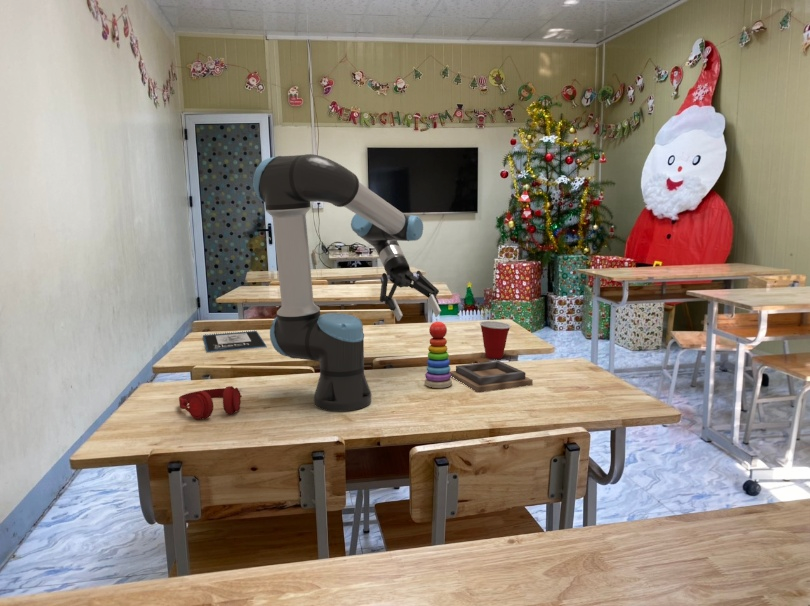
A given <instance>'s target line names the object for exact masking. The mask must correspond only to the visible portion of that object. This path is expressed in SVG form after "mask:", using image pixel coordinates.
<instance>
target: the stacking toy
mask: <svg viewBox="0 0 810 606" xmlns="http://www.w3.org/2000/svg"><path fill="white" fill-rule="evenodd" d="M447 332H448V329H447V326H446V324H445V323H444V322H442V321H434V322H433V323H431V324H430V326H429V335H430V337H431V338H430V339H429V344H430V345H429V346H428V348H427V349H428V353H427V357H428V359H427V360H426V361H427V362H426V363H427V366H426V372H425V374H424V377H425V380H424V384H425V386H427V387H429V388H431V387H432V388H433V389H445V388H448V387H450V386H451V385H453V379H451V374H450V371H451V366H450V363H451V362H450V359H449V352H447V351H448V346H447V343H448V340H447V339H446V338H445V337H446V335H447ZM432 388H431V389H432Z"/></svg>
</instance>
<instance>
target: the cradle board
mask: <svg viewBox="0 0 810 606" xmlns="http://www.w3.org/2000/svg"><path fill="white" fill-rule="evenodd" d="M450 374H451V376H452V377H454V378H455V379H457V380H458V381H460V382H462V383H464V384H465V385H467V386H468V387H467V386H466V387H467V388H469V387H470V388H469V389H471V388H472V389H471V390H473V391H474V390H475V391H474V392H475V393H484V391H486V392H492V391H491V390H493V391H498V389H500V390H506V389H505V388H507V389H512V387H514V388H520V387H519V386H521V387H526V385H528V386H533V383H534V382H533V379H531V378H529V377H527V376H526V372H525V371H523V370H521V369H518V368H516V367H514V366H511V365H509V364H507V363H505V362H502V361H500V360H495V361H493V360H491V361H486V362H485V361H484V362H477V363H469V364H467V363H466V364H460V365H455V370H450ZM455 379H454V380H455ZM457 380H456V381H457ZM458 381H457V382H458ZM460 382H459V383H460ZM462 383H461V384H462ZM464 384H463V385H464ZM465 385H464V386H465Z"/></svg>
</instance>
